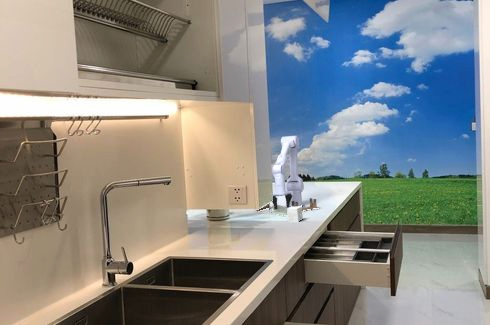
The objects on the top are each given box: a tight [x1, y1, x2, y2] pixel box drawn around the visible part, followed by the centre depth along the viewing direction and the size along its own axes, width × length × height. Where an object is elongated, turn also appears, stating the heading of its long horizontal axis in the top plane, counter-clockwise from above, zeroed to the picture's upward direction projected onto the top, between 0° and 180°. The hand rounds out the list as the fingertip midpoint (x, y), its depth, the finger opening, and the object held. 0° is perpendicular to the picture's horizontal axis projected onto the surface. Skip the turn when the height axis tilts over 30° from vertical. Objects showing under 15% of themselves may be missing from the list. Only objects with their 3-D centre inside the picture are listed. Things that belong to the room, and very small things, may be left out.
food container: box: [255, 202, 271, 211], centre depth 310 cm, size 12×6×10 cm, turn 130°
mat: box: [270, 210, 288, 217], centre depth 294 cm, size 20×9×1 cm, turn 22°
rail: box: [272, 204, 290, 214], centre depth 295 cm, size 16×3×3 cm, turn 22°
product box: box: [287, 207, 304, 223], centre depth 266 cm, size 6×6×7 cm
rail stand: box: [292, 197, 320, 211], centre depth 298 cm, size 8×15×6 cm, turn 112°
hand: (282, 208), depth 294 cm, fingers open, 7 cm apart
